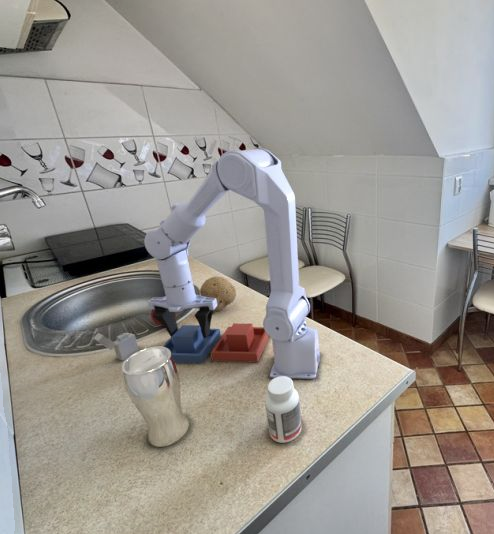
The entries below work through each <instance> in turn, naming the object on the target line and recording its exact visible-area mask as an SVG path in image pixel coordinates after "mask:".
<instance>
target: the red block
mask: <svg viewBox="0 0 494 534" xmlns="http://www.w3.org/2000/svg"><path fill="white" fill-rule="evenodd" d="M230 327H231V328H230V330H229V331H228V333H227V334H226V337H227V342H228V348H229V351H234V352H249V350H250V348H251V346H252V345H253V343H254V341H255V337H254V331H253V327H254V324H253V323H239V322H237V323H234V322H233V323H232V325H230Z"/></svg>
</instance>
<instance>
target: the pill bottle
mask: <svg viewBox="0 0 494 534" xmlns="http://www.w3.org/2000/svg"><path fill="white" fill-rule="evenodd" d="M264 406H265V412H266V413H265V414H266V418H267V426H268V431H269V436H270V438H271V439H272V440H273V441H274V442H277V443H282V444H285V443H290V442H291V441H293V440H295V439H296V438H297V437H298V436H299V435H300V433H301V431H302V415H301V405H300V396H299V392H298V391H297V390H296V388H295V387H294V381H293V380H292V378H289V377H286V376H280V377H276V378H272V379H271V380H270V381H269V383H268V384H267V394H266V396H265V399H264Z"/></svg>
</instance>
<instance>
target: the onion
mask: <svg viewBox="0 0 494 534" xmlns="http://www.w3.org/2000/svg"><path fill="white" fill-rule="evenodd" d="M154 312H155V309H151V310H150V318H151V321H152V322H153V323H154V324H156V325H157V326H159V327H164V326H163V325H162V324H161V323H160V322H159V321H158V320H156V319H155V318H153V315H152V314H153V313H154ZM177 315H178V311H177V312H175V317H176V318H177Z"/></svg>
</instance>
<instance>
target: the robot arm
mask: <svg viewBox="0 0 494 534" xmlns="http://www.w3.org/2000/svg"><path fill="white" fill-rule="evenodd" d="M229 191H231V192H233V193H235V194H237V195H239V196H242V197H244V198H246V199H247V200H250V201H252V202H254V203H255V204H256V205H258V207H260V208H261V209H262V210H263V214H264V227H265V237H266V250H267V259H268V260H267V261H268V271H269V283H270V293H269V296H268V299H267V303H266V306H265V312H266V313H265V316H264V318H263V320H262V327H264V330H265V332H266V333H267V334H268V335H269V338H270V340H271V342H272V351H273V359H274V362H273V365H272V367H271V370H270V373H269V378H272V379H274V378H276V377H280V376H286V377H289V378H290V379H307V380H310V379H311V380H314V379H316V378H317V373H318V366H319V363H320V357H321V352H320V342H319V341H320V339H319V330H318V329H315V328H312V327H309V326H307V322H306V321H307V318H306V317H307V316H308V315H309V313H310V311H311V304H310V302H309V300H308V298H307V294H306V288H304V286H301V285H300V275H299V274H300V273H299V255H298V232H297V209H296V197H295V192H294V191H293V189H292V187H291V184H290V183H289V180H288V178H287V177H286V176H285V173H284V171H283V169H282V161H281V159H279V157H277V156H275V155H274V154H273V153H272V152H271V151H270V150H268V149H266V148H263V147H255V148H251V149H243V150H227V151H225V152H224V153H222V154H221V155H220V157H219V159H218V160H217V161H215V162H214V163H213V164H212V165H211V169H210V172H209V173H208V175H207V176H206V177H205V179H204V180H203V181H202V182H201V185H200V186H199V187H198V188H197V190H196V192H195V193H194V194H193V196H192V197H191V199H190V200H189V201H181V202H177V203H174V204H173V205H172V206H171V207H170V210H171V212H170V213H169V214H168V216H167V217H166V218H165V219H162V220H161V221H160V222H159V227H158V229H151V230H149V231H147V232H146V235H145V237H144V240H143V242H144V243H143V244H144V246H145V247H144V248H145V249H146V251H147V253H148V254H149V255H150V256H151V257H153V258H155V261H156V264H157V268H158V271H159V276H160V279H161V284H162V288H163V291H164V294H165V296H159V297H152V298H151V299H149V300H148V301H147V304H148V307H149V310H152V309H155V312H154V313H153V314H152V315H153V318H155V319H156V320H158V321H159V322H160V323H161V324H162V325H163V326H162V327H163V328H164V329H165V330H166V332H167V333H168V335H169V337H170V338H171V337H172V336H173V335H174V334H175V332H176V331H177V330H178V329H179V327H178V323H177V316H176V317H175V312H177V313H178V312H179V311H181V310H188V309H197V311H196V313H194V318H195V319H196V321H197V323H198V325H200V328H201V333H202V336H203V338H207V336H208V335H209V334H210V329H211V323H212V317H213V315H214V312H215V311H214V309H215V308H216V307H217V301H216V298H209V297H204V296H201V294H196V290H195V286H194V281H193V276H192V273H191V268H190V263H189V259H188V257H189V255H190V253H189V248H190V245H191V240H192V238H193V237H194V236H195V235H196V234H197V233H198V232H199V231H200V230H201V229H202V228H203V226H204V225H205V224H206V221H207V220H206V214H207V212H209V210H210V209H211V208H212V207H213V206H214V205H216V204H217V203H218V201H220V200H221V199H222V198H223V197H224V196H225V195H226V194H227V193H228V192H229Z"/></svg>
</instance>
